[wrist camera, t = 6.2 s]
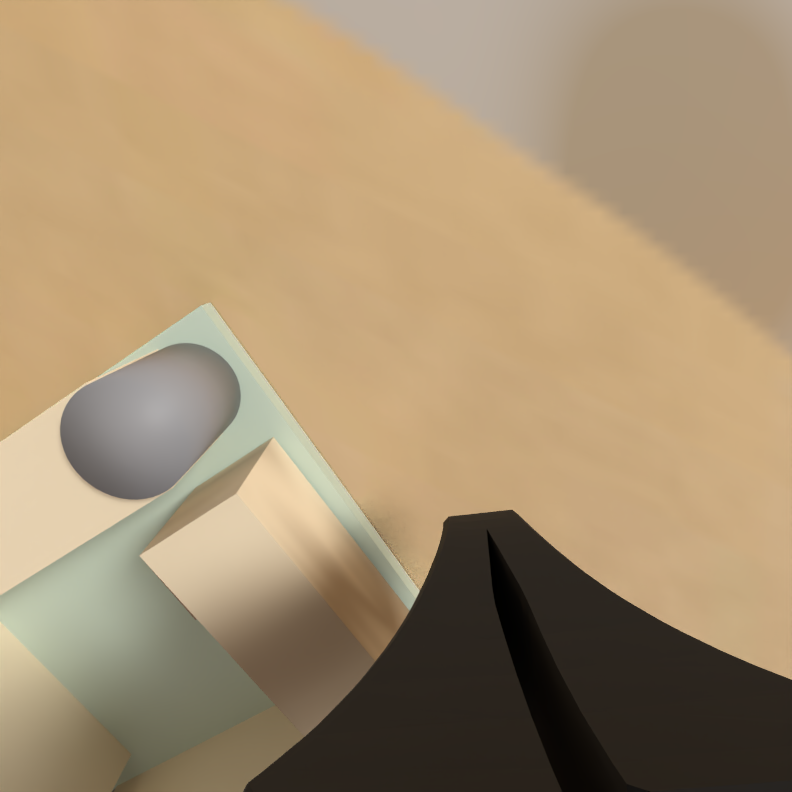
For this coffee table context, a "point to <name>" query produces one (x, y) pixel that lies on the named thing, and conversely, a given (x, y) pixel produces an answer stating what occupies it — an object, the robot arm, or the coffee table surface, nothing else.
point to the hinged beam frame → (138, 575)
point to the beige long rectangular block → (278, 583)
